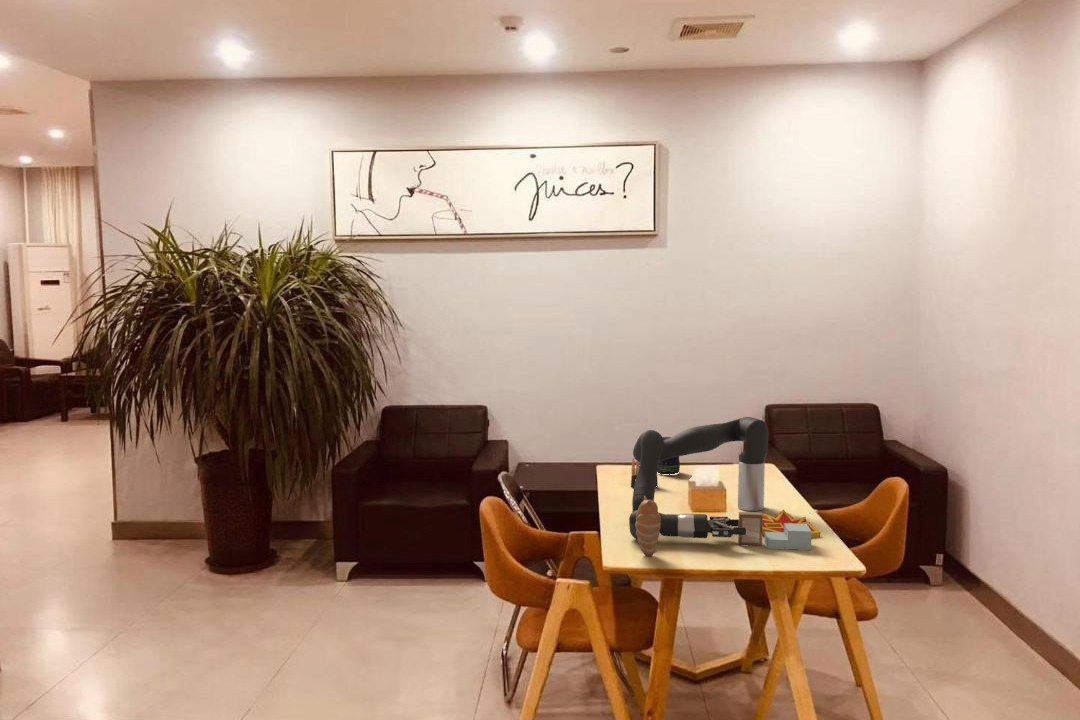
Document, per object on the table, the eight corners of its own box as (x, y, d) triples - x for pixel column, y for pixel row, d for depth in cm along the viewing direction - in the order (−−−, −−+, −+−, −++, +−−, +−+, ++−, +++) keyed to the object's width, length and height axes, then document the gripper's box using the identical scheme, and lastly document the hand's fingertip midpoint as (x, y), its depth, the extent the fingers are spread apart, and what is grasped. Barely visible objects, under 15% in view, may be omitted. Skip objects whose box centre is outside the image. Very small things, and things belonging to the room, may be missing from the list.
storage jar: (668, 469, 376) (668, 436, 374) (684, 473, 368) (685, 439, 366) (651, 472, 370) (652, 438, 368) (667, 477, 362) (668, 442, 360)
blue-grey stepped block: (764, 540, 275) (764, 522, 275) (806, 542, 273) (806, 523, 273) (767, 548, 267) (768, 530, 267) (810, 550, 266) (811, 531, 265)
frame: (738, 542, 274) (738, 511, 273) (760, 543, 273) (761, 512, 272) (739, 545, 271) (739, 514, 270) (761, 546, 270) (762, 515, 269)
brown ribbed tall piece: (631, 552, 265) (631, 495, 263) (655, 550, 266) (655, 493, 265) (640, 561, 256) (641, 502, 254) (665, 559, 258) (666, 501, 256)
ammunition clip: (631, 487, 344) (631, 458, 343) (630, 486, 346) (630, 457, 345) (657, 487, 345) (658, 458, 344) (656, 486, 347) (657, 457, 345)
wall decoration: (820, 517, 301) (820, 504, 301) (820, 545, 272) (820, 531, 272) (757, 513, 308) (757, 501, 308) (750, 540, 279) (750, 526, 279)
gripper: (691, 530, 281) (741, 531, 278) (693, 544, 267) (746, 545, 264) (691, 508, 280) (742, 509, 278) (693, 520, 266) (746, 522, 264)
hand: (744, 527), depth 271 cm, fingers open, 8 cm apart
